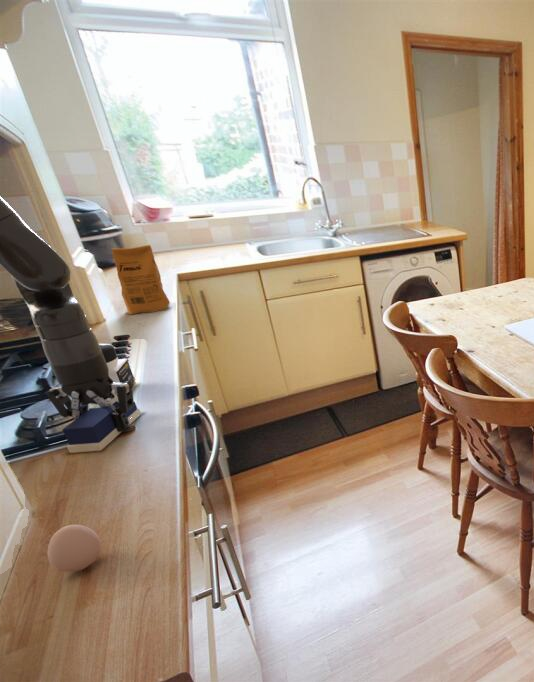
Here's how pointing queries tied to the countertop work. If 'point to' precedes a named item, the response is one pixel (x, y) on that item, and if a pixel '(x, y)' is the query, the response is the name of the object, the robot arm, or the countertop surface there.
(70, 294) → the robot arm
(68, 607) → the countertop surface
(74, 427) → the navy and white sponge
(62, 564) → the egg
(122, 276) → the coffee package
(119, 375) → the medicine bottle
